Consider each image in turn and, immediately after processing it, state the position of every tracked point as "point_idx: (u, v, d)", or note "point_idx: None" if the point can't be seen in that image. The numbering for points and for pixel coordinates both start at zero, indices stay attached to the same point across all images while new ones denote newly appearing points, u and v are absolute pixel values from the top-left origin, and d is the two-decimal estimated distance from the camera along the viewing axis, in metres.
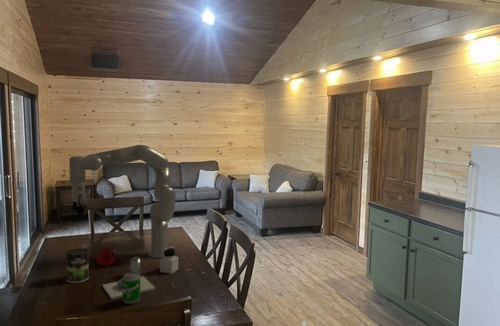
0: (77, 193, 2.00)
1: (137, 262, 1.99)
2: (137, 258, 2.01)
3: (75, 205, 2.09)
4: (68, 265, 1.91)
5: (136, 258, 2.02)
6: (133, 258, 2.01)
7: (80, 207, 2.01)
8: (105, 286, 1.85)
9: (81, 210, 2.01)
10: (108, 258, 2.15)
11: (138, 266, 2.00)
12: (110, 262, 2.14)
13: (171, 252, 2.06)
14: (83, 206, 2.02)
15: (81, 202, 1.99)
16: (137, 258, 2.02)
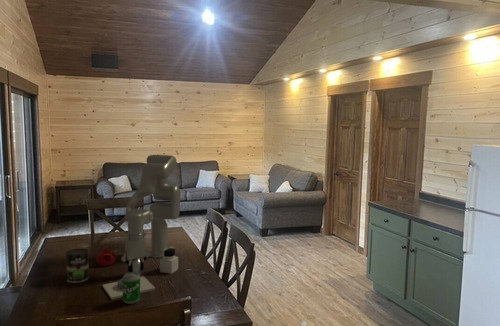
0: (145, 247, 2.02)
1: (137, 262, 1.99)
2: None
3: None
4: (68, 265, 1.91)
5: None
6: None
7: None
8: (105, 286, 1.85)
9: None
10: (108, 258, 2.15)
11: (138, 266, 2.00)
12: (110, 262, 2.14)
13: (171, 252, 2.06)
14: None
15: None
16: None
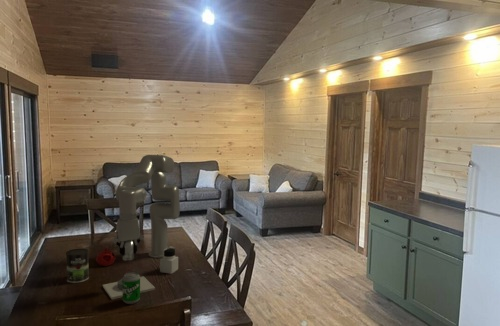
0: None
1: (129, 244, 1.82)
2: (130, 240, 1.84)
3: None
4: (68, 265, 1.91)
5: None
6: None
7: None
8: (105, 286, 1.85)
9: None
10: (108, 258, 2.15)
11: (131, 248, 1.83)
12: (110, 262, 2.14)
13: (171, 252, 2.06)
14: None
15: None
16: None
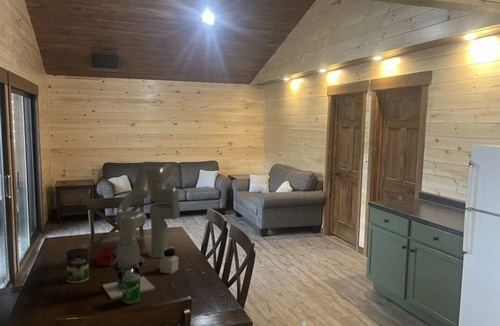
0: (139, 253, 1.86)
1: (130, 272, 1.83)
2: (130, 268, 1.85)
3: None
4: (68, 265, 1.91)
5: (128, 267, 1.86)
6: (126, 268, 1.85)
7: None
8: (105, 286, 1.85)
9: None
10: (108, 258, 2.15)
11: None
12: (110, 262, 2.14)
13: (171, 252, 2.06)
14: (135, 267, 1.89)
15: None
16: (130, 267, 1.86)
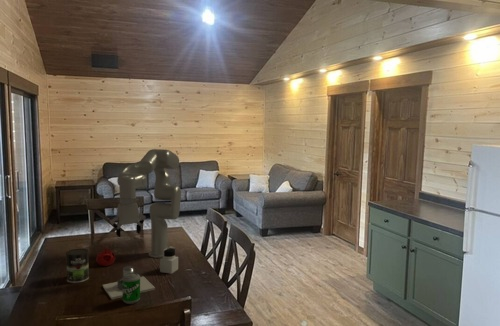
0: (138, 212, 1.95)
1: (130, 272, 1.83)
2: (130, 268, 1.85)
3: None
4: (68, 265, 1.91)
5: (128, 267, 1.85)
6: (125, 268, 1.85)
7: None
8: (105, 286, 1.85)
9: None
10: (108, 258, 2.15)
11: None
12: (110, 262, 2.14)
13: (171, 252, 2.06)
14: None
15: None
16: (130, 267, 1.85)
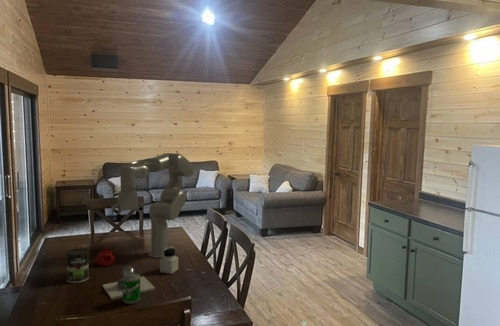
0: (137, 199, 2.10)
1: (130, 272, 1.83)
2: (130, 267, 1.85)
3: None
4: (68, 265, 1.91)
5: (129, 267, 1.86)
6: (126, 267, 1.85)
7: None
8: (105, 286, 1.85)
9: None
10: (108, 258, 2.15)
11: None
12: (110, 262, 2.14)
13: (171, 252, 2.06)
14: None
15: None
16: (130, 267, 1.86)
